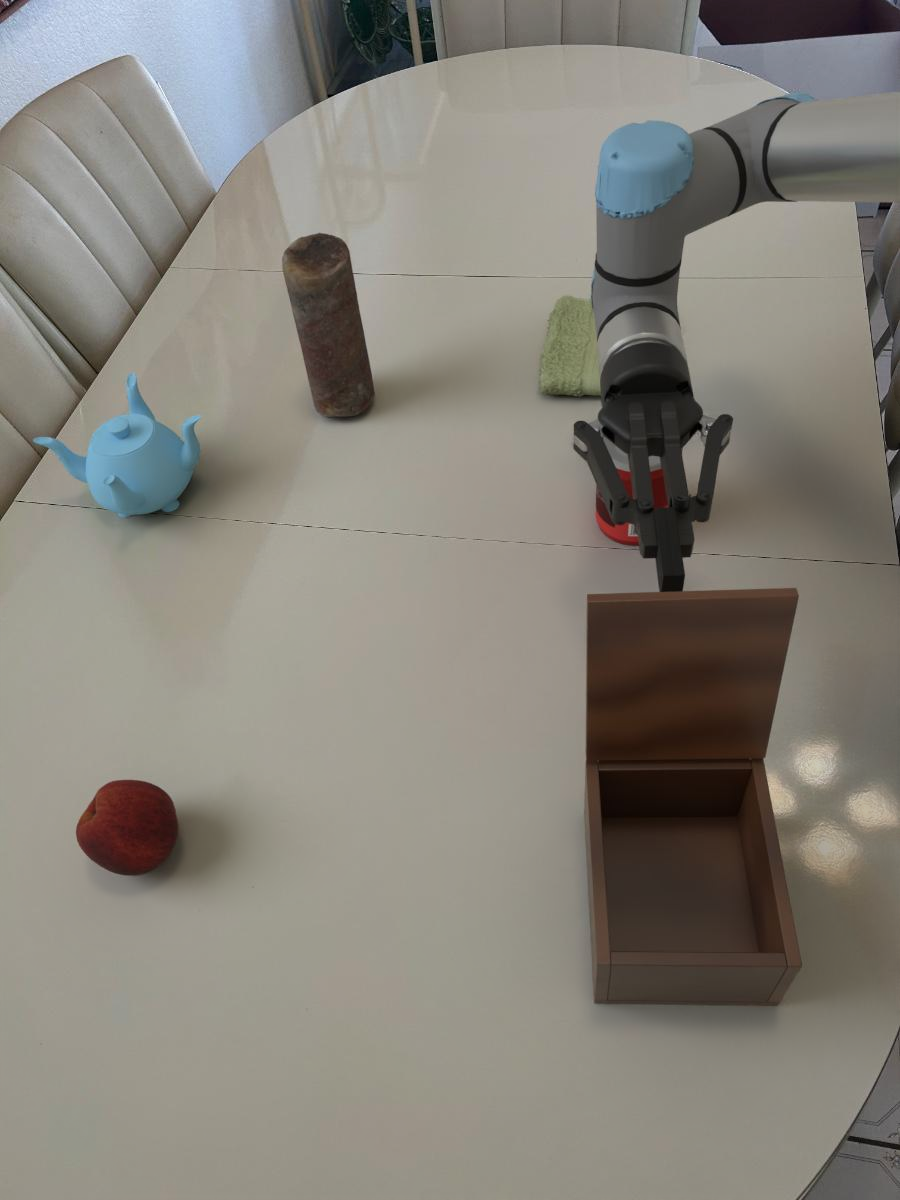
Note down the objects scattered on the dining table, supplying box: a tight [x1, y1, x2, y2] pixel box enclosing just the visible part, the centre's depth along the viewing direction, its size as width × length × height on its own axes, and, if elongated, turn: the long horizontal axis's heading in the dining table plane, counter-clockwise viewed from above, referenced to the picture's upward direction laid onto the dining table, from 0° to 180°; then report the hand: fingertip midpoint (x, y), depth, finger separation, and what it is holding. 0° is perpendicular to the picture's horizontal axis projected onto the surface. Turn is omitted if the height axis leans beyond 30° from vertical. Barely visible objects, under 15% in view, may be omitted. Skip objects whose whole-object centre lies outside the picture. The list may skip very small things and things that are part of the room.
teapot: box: [32, 372, 202, 518], centre depth 101 cm, size 13×13×10 cm
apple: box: [75, 779, 179, 877], centre depth 75 cm, size 7×8×8 cm
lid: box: [584, 587, 800, 761], centre depth 63 cm, size 16×13×1 cm
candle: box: [281, 232, 376, 418], centre depth 103 cm, size 8×7×20 cm
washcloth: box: [538, 294, 601, 398], centre depth 111 cm, size 13×18×3 cm
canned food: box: [595, 437, 684, 546], centre depth 91 cm, size 8×8×11 cm
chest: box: [583, 758, 803, 1007], centre depth 67 cm, size 15×13×9 cm
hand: (672, 587), depth 66 cm, fingers closed
